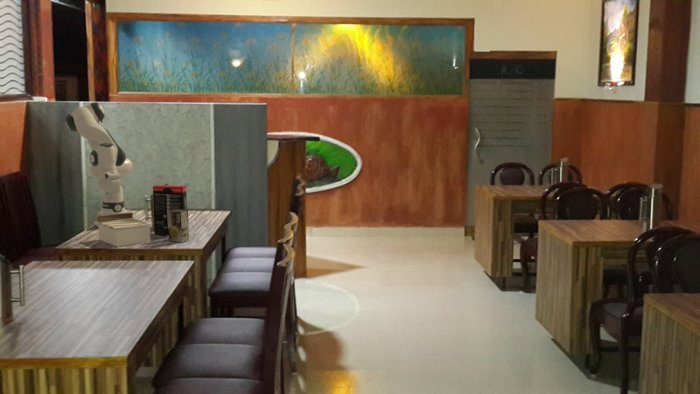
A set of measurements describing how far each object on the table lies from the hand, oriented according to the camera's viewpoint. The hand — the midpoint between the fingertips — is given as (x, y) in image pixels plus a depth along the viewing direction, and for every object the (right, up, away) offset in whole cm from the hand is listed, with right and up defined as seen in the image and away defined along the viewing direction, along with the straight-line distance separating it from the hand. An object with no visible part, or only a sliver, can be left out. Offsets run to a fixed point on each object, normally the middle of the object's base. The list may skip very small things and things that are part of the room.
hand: (109, 200), depth 392 cm
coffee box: (+38, -22, -6) cm, 44 cm away
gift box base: (+11, -22, -9) cm, 26 cm away
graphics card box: (+31, -19, +9) cm, 37 cm away
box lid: (+11, -13, -11) cm, 20 cm away
